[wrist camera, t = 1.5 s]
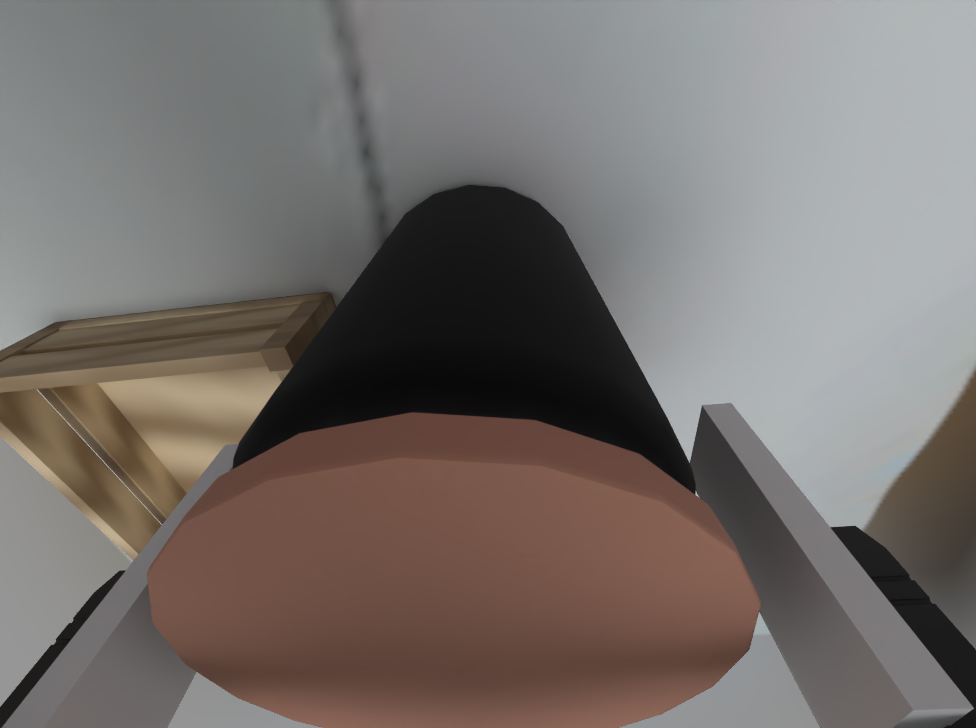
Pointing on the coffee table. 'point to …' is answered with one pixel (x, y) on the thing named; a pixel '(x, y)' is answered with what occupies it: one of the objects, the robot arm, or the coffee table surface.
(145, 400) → the pine crate
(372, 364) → the coffee jar
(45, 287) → the coffee table surface
